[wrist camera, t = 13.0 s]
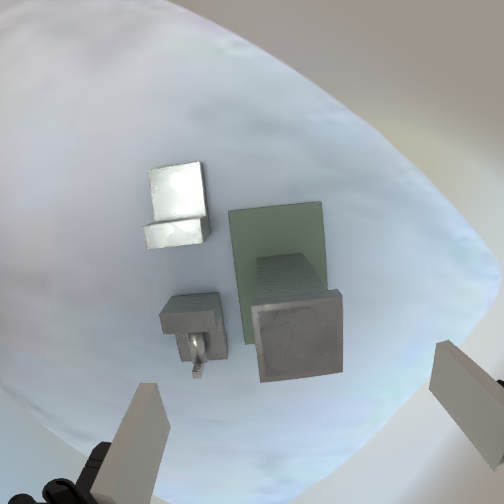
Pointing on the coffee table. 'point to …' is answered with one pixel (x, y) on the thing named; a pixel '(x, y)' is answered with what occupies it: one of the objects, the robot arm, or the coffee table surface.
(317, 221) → the mat
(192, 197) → the silver metal blocks
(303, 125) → the coffee table surface
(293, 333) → the bar
